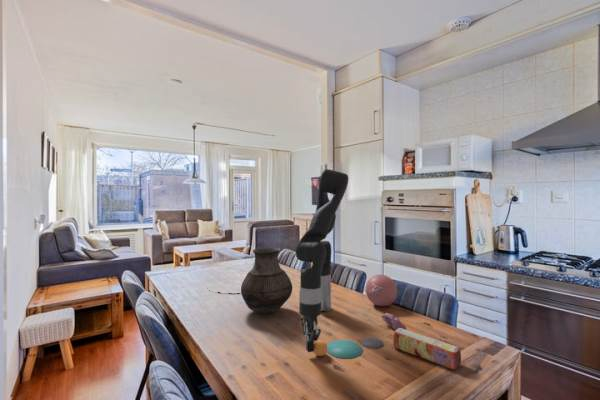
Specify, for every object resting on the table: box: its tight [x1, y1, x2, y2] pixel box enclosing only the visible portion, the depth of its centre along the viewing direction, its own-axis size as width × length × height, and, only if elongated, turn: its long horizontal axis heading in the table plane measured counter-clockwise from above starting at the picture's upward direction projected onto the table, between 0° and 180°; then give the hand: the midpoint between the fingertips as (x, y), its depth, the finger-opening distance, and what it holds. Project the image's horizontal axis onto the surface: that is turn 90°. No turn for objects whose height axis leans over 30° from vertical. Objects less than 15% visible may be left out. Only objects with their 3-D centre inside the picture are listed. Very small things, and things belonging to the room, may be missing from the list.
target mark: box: [326, 339, 363, 360], centre depth 107 cm, size 13×13×1 cm
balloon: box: [364, 274, 398, 307], centre depth 149 cm, size 15×20×15 cm
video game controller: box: [381, 312, 407, 331], centre depth 124 cm, size 10×5×7 cm, turn 21°
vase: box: [240, 247, 293, 314], centre depth 143 cm, size 25×25×30 cm
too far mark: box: [361, 337, 385, 349], centre depth 111 cm, size 8×8×1 cm
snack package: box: [392, 328, 462, 371], centre depth 102 cm, size 21×7×7 cm, turn 45°
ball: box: [313, 339, 328, 357], centre depth 103 cm, size 5×5×5 cm
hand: (310, 350), depth 102 cm, fingers closed
